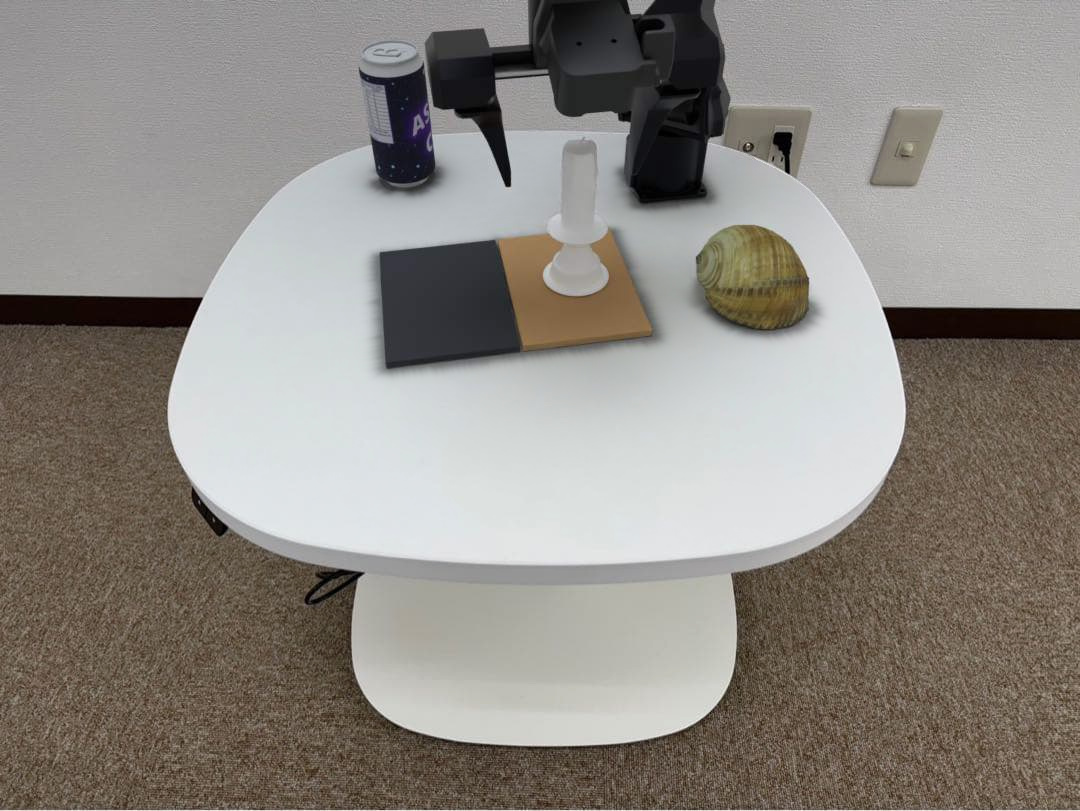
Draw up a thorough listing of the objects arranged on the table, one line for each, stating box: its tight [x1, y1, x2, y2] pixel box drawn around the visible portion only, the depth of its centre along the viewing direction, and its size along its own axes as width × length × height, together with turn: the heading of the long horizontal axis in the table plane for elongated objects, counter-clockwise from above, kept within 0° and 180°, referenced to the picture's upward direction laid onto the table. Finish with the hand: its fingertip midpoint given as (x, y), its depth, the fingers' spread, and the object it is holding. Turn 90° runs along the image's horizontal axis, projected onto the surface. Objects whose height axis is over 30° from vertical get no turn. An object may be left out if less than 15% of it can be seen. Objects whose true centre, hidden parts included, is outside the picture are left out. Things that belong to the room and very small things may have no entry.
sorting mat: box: [379, 227, 653, 369], centre depth 64 cm, size 20×14×1 cm
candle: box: [543, 136, 609, 296], centre depth 60 cm, size 5×5×12 cm
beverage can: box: [358, 39, 437, 189], centre depth 73 cm, size 6×6×12 cm
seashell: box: [695, 224, 810, 331], centre depth 62 cm, size 10×7×8 cm
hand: (570, 178), depth 58 cm, fingers open, 9 cm apart
